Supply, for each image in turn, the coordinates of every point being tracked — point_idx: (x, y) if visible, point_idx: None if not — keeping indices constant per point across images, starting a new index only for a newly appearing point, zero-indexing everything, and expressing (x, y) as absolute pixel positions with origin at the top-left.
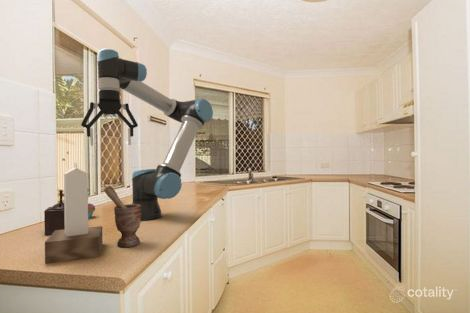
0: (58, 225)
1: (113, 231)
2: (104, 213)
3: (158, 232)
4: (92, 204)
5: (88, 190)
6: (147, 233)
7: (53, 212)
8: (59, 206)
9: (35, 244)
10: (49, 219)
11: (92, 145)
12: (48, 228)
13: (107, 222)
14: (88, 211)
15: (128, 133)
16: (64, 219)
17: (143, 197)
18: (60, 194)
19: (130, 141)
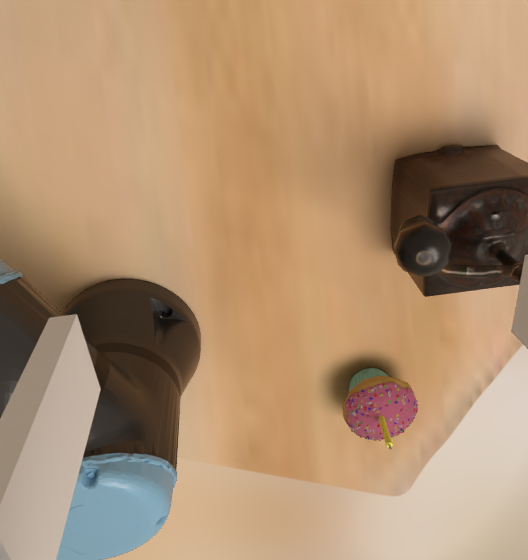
0: (464, 161)
1: (240, 123)
2: (307, 440)
3: (26, 29)
4: (358, 426)
5: (394, 247)
6: (79, 28)
7: (511, 176)
8: (498, 209)
9: (522, 4)
10: (511, 165)
11: (523, 297)
12: (496, 153)
13: (281, 291)
14: (366, 379)
15: (26, 435)
16: (452, 170)
17: (116, 355)
18: (522, 263)
19: (37, 344)
